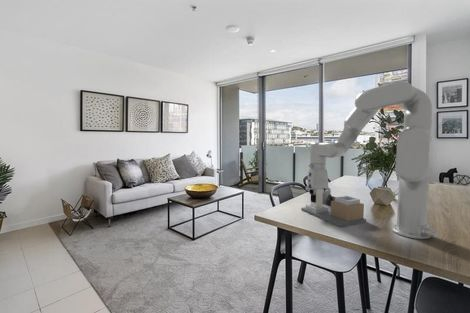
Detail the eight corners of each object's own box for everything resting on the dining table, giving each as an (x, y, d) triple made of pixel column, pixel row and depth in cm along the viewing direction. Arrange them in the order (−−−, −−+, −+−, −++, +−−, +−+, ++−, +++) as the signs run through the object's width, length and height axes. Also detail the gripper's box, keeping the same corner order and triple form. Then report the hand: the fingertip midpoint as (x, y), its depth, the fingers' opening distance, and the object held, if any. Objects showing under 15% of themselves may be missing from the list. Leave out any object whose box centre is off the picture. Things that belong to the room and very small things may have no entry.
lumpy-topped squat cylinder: (308, 200, 145) (308, 186, 144) (317, 196, 155) (317, 183, 154) (325, 203, 138) (326, 189, 137) (333, 199, 148) (333, 185, 147)
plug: (322, 207, 121) (322, 188, 120) (316, 208, 120) (316, 189, 119) (315, 205, 126) (316, 186, 125) (309, 206, 124) (310, 187, 123)
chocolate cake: (348, 211, 125) (344, 192, 133) (336, 208, 124) (333, 189, 132) (337, 219, 132) (334, 200, 140) (326, 216, 131) (323, 197, 139)
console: (366, 221, 108) (367, 200, 108) (340, 227, 102) (340, 204, 101) (324, 206, 132) (324, 189, 131) (301, 210, 126) (301, 191, 125)
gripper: (309, 168, 114) (308, 205, 115) (335, 166, 120) (334, 201, 122) (299, 166, 121) (298, 201, 122) (324, 164, 127) (323, 198, 129)
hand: (316, 201), depth 122 cm, fingers closed on plug, 4 cm apart
